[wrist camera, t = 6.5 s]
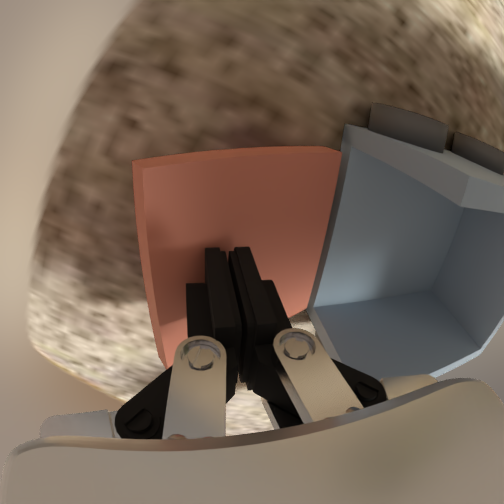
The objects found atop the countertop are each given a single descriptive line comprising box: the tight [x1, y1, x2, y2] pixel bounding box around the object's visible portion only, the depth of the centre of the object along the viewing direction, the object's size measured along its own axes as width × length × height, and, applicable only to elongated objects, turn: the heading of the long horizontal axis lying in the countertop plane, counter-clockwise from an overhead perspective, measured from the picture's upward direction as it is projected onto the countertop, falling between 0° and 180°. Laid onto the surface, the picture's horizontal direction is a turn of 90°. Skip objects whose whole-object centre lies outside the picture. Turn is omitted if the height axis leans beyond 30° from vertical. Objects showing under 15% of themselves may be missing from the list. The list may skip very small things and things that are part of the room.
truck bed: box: [305, 103, 504, 381], centre depth 14 cm, size 12×15×8 cm
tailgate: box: [132, 146, 342, 370], centre depth 13 cm, size 1×9×9 cm
